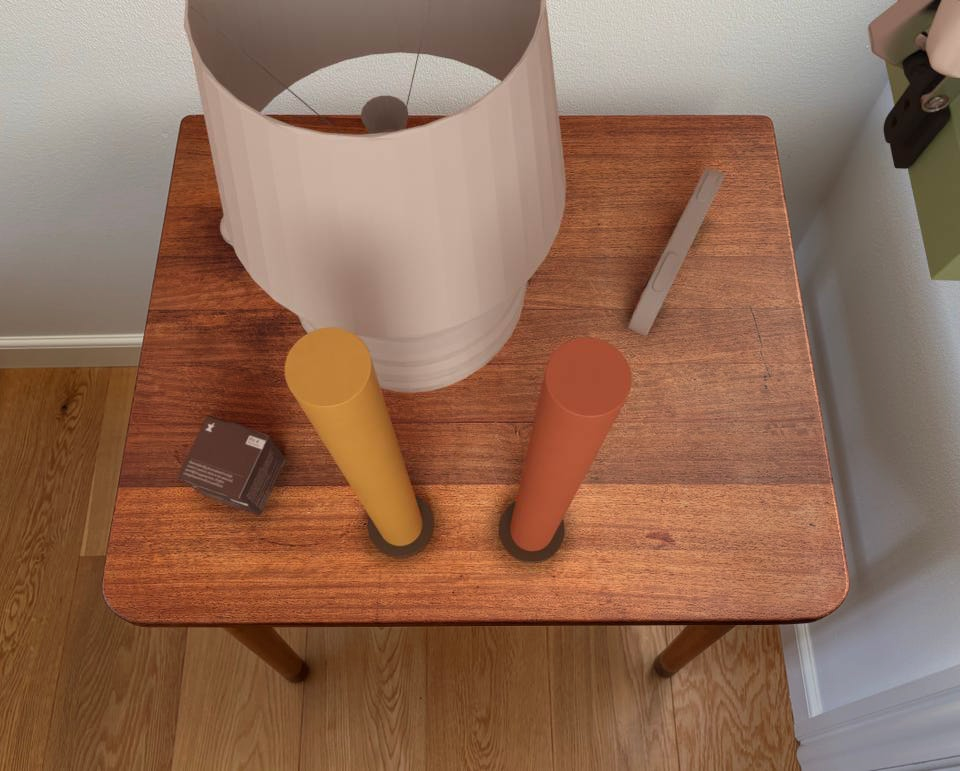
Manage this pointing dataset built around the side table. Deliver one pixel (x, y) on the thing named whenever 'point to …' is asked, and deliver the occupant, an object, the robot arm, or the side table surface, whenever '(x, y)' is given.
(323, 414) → the ochre rod
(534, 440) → the terracotta rod
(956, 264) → the green bar
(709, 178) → the grey flat slab
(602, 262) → the side table surface
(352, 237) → the table lamp
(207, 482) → the box
